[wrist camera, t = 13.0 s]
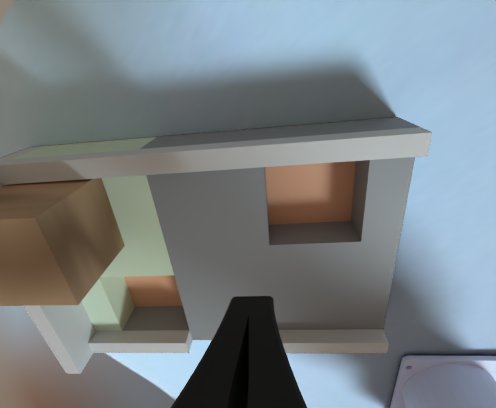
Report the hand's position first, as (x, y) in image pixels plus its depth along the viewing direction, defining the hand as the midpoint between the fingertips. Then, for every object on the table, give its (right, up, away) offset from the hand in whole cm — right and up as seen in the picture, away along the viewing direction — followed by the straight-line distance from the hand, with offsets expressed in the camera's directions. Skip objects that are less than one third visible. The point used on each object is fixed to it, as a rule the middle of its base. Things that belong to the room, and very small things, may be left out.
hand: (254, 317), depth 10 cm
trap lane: (-2, +2, +9) cm, 9 cm away
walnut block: (-10, +3, +6) cm, 12 cm away
